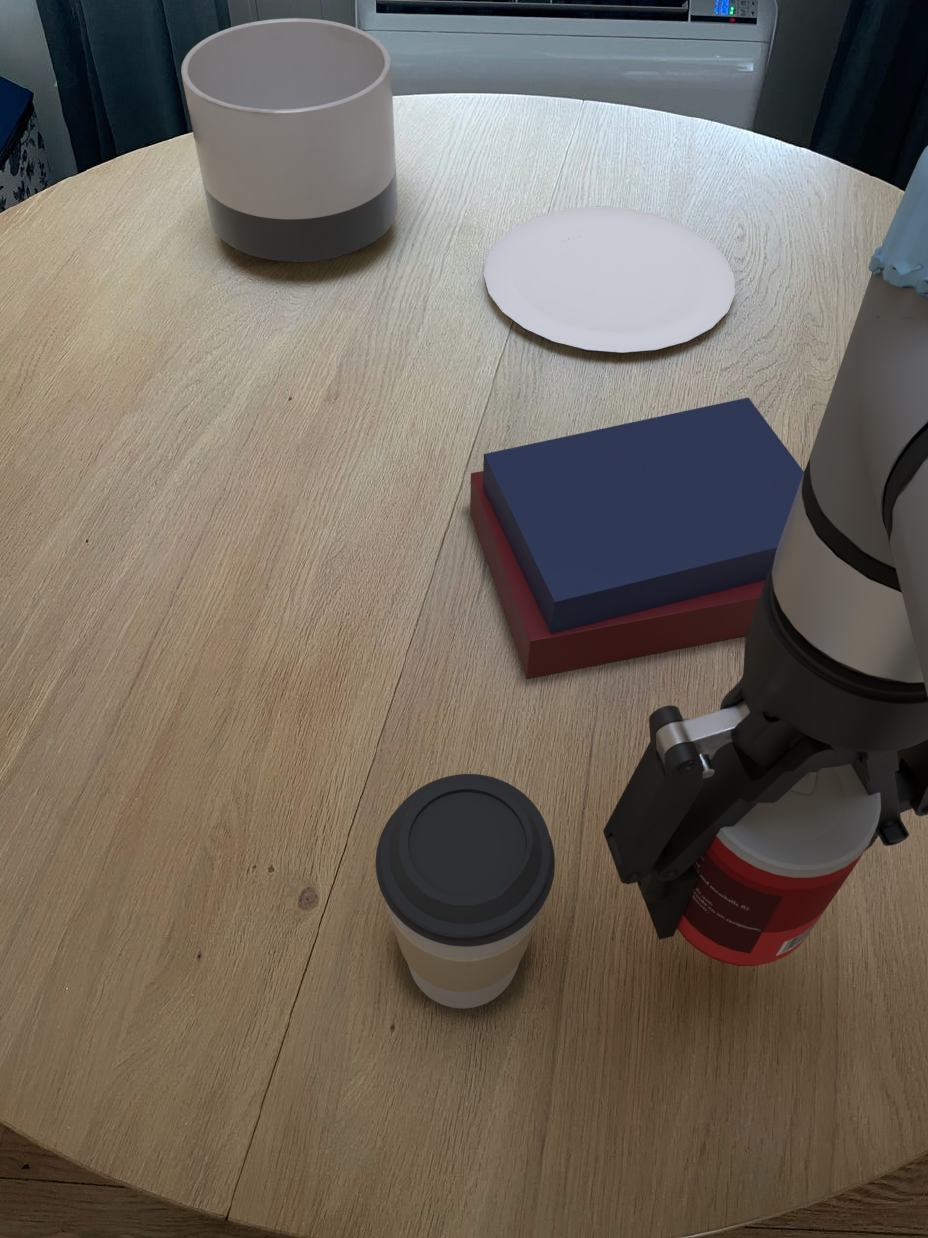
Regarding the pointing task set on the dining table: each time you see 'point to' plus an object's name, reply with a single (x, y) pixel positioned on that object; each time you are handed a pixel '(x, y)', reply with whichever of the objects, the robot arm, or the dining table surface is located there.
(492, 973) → the coffee cup
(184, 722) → the dining table surface
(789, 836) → the canned food
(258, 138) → the planter
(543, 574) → the book stack
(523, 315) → the plate
